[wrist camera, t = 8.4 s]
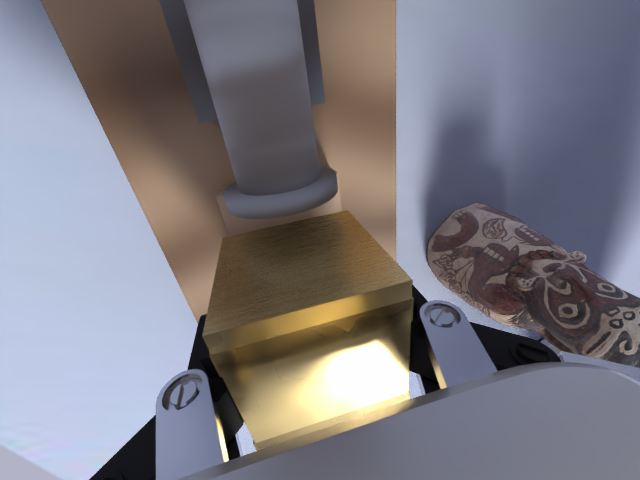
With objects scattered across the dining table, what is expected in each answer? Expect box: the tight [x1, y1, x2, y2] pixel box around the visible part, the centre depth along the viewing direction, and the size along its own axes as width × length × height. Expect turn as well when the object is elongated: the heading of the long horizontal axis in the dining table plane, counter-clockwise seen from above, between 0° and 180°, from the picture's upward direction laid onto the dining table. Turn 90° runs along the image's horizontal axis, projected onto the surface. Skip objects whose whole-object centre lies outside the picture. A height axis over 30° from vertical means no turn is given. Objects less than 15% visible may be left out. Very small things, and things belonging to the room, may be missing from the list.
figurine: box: [427, 203, 640, 368], centre depth 17 cm, size 7×7×12 cm
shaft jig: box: [41, 0, 396, 323], centre depth 14 cm, size 26×14×8 cm, turn 8°
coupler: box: [202, 210, 414, 451], centre depth 10 cm, size 6×5×5 cm
